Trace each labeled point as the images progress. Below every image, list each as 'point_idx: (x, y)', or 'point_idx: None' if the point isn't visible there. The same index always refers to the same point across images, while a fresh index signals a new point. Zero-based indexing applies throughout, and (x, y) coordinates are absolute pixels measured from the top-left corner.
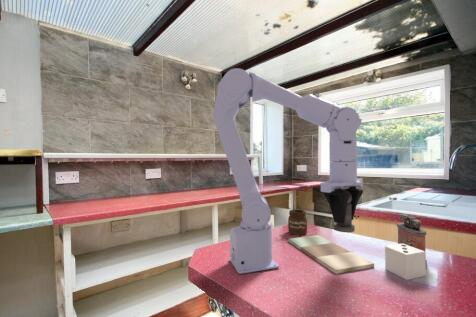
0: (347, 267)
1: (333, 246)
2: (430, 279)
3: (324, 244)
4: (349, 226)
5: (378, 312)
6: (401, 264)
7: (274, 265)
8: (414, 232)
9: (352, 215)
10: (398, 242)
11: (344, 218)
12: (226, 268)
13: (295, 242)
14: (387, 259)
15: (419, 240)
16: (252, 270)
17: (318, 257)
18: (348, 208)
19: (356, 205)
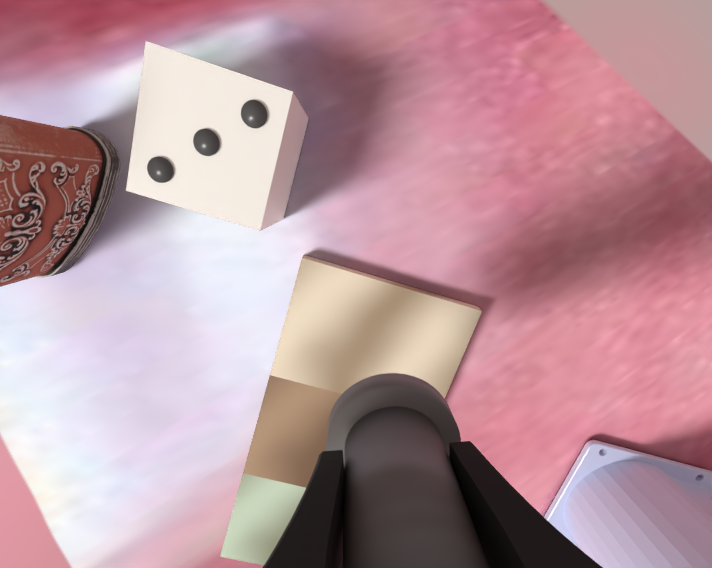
0: (426, 299)
1: (280, 447)
2: (220, 58)
3: (292, 479)
4: (405, 408)
5: (619, 74)
6: (294, 135)
7: (598, 454)
8: None
9: (339, 475)
10: (19, 277)
11: (471, 462)
12: None
13: None
14: (278, 210)
15: (2, 131)
16: (681, 465)
17: None
18: (446, 533)
19: (276, 553)
